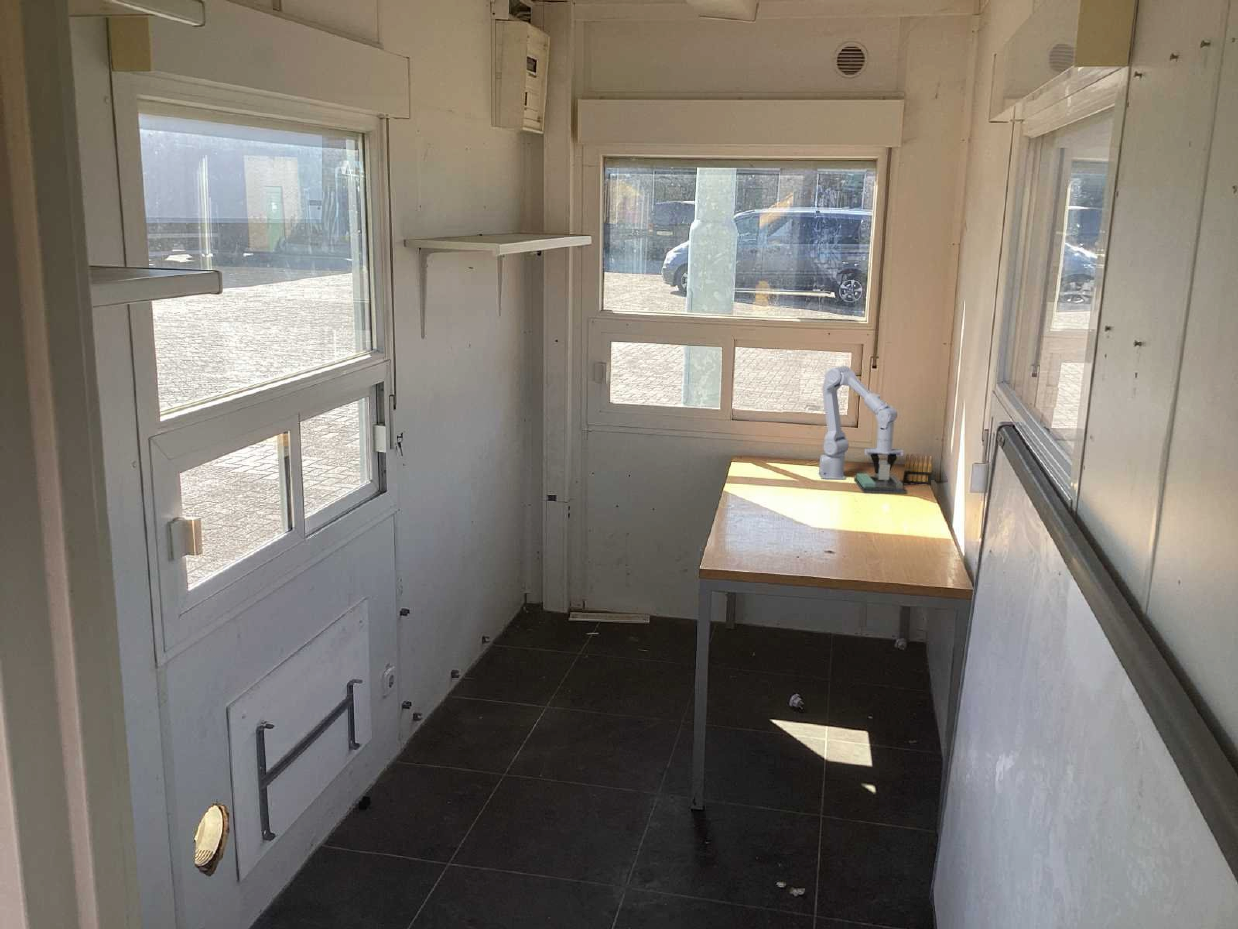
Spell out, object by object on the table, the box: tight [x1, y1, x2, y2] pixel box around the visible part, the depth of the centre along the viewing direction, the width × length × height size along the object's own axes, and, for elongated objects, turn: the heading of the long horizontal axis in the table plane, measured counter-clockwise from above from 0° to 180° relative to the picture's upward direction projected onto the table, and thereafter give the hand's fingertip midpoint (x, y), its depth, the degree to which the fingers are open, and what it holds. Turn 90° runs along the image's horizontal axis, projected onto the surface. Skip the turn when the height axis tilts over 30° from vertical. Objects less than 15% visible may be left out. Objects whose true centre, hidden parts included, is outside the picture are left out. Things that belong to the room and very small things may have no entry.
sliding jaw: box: [856, 473, 875, 488], centre depth 417 cm, size 4×14×2 cm, turn 0°
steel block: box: [874, 459, 891, 480], centre depth 416 cm, size 4×7×6 cm, turn 0°
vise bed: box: [853, 473, 907, 495], centre depth 417 cm, size 16×18×3 cm
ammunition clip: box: [902, 453, 933, 486], centre depth 422 cm, size 11×2×12 cm, turn 81°
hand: (882, 473), depth 416 cm, fingers closed on steel block, 4 cm apart
